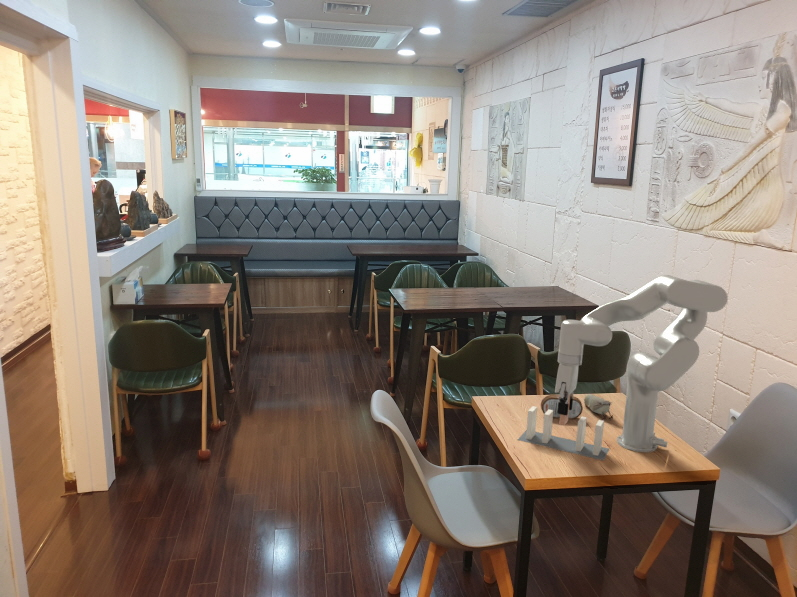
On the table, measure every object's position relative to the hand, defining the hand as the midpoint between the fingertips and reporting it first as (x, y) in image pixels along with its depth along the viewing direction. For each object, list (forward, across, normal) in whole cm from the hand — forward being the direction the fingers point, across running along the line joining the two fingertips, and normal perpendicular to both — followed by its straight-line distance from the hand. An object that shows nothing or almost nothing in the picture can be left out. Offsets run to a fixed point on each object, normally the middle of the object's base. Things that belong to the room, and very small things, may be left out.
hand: (564, 411), depth 196 cm
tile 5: (+11, 0, +11) cm, 16 cm away
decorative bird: (+12, -36, +4) cm, 38 cm away
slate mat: (+12, 0, 0) cm, 12 cm away
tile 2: (+12, 0, -5) cm, 13 cm away
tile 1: (+12, 0, -11) cm, 16 cm away
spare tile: (+4, 0, 0) cm, 4 cm away
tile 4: (+11, 0, +6) cm, 13 cm away
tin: (+12, -24, -7) cm, 28 cm away
